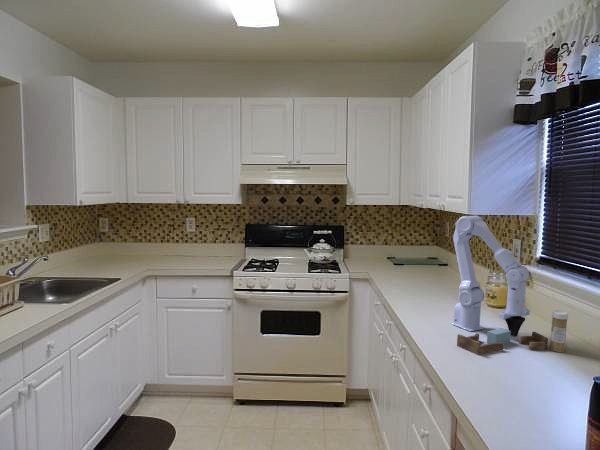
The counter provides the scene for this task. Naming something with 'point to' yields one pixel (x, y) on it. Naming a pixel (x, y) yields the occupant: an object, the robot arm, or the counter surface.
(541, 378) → the counter surface
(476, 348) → the endcap rail
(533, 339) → the brown stepped block
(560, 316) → the sprinkles bottle
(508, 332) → the pale teal block
